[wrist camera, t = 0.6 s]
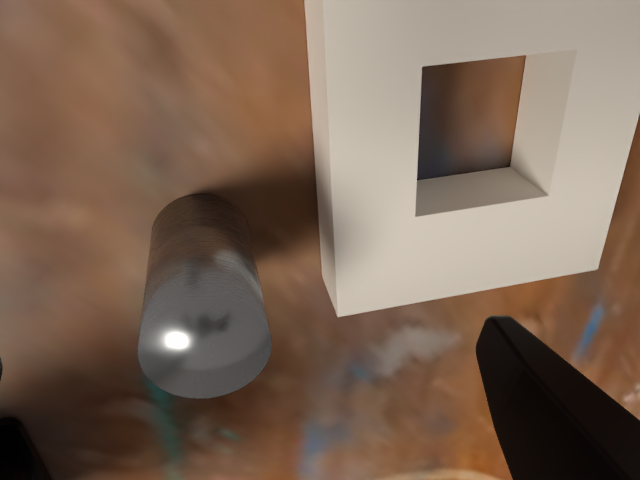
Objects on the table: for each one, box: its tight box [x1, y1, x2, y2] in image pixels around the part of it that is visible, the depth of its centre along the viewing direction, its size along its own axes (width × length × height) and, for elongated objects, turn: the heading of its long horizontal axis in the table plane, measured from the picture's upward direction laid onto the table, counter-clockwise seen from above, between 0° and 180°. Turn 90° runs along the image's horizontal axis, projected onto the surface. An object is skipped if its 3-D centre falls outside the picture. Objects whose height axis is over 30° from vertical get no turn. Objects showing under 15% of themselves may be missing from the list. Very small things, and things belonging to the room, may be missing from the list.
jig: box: [304, 0, 640, 317], centre depth 20 cm, size 14×12×3 cm
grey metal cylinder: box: [138, 194, 272, 399], centre depth 19 cm, size 4×4×7 cm
